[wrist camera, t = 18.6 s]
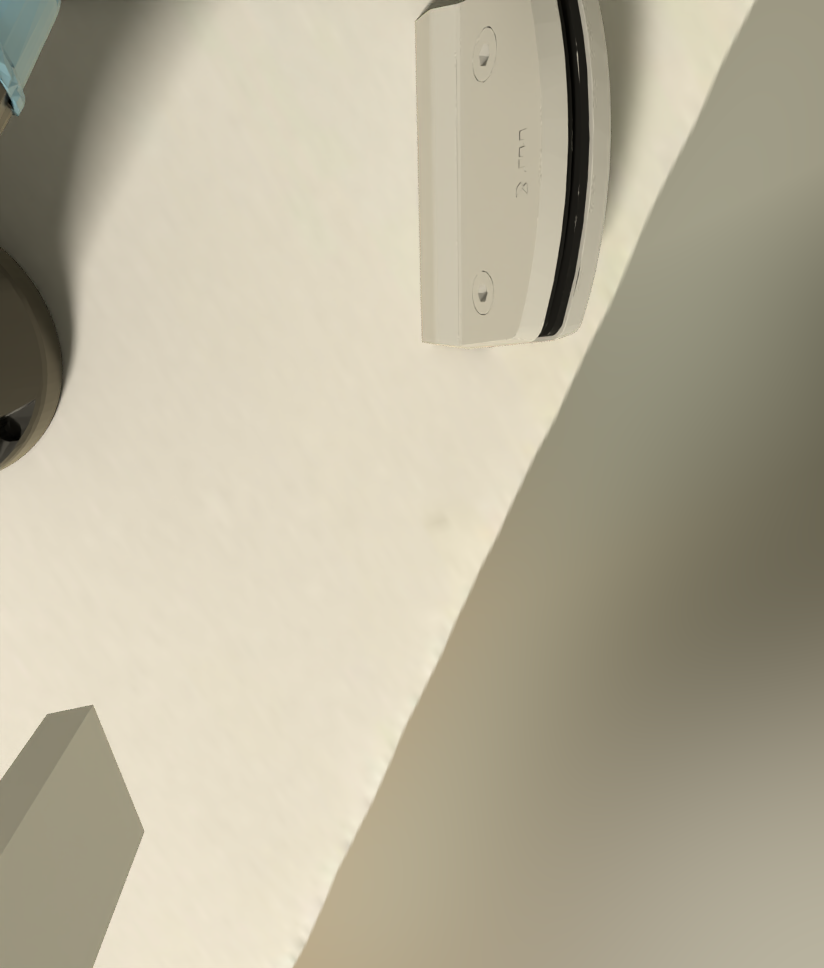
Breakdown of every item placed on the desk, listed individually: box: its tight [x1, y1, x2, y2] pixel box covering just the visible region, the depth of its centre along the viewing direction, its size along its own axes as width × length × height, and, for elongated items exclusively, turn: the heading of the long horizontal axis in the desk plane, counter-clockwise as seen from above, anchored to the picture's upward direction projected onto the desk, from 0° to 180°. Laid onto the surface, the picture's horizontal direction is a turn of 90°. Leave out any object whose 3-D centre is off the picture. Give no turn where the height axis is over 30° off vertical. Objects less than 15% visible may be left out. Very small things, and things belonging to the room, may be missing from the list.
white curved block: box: [415, 0, 611, 349], centre depth 31 cm, size 17×5×10 cm, turn 1°
